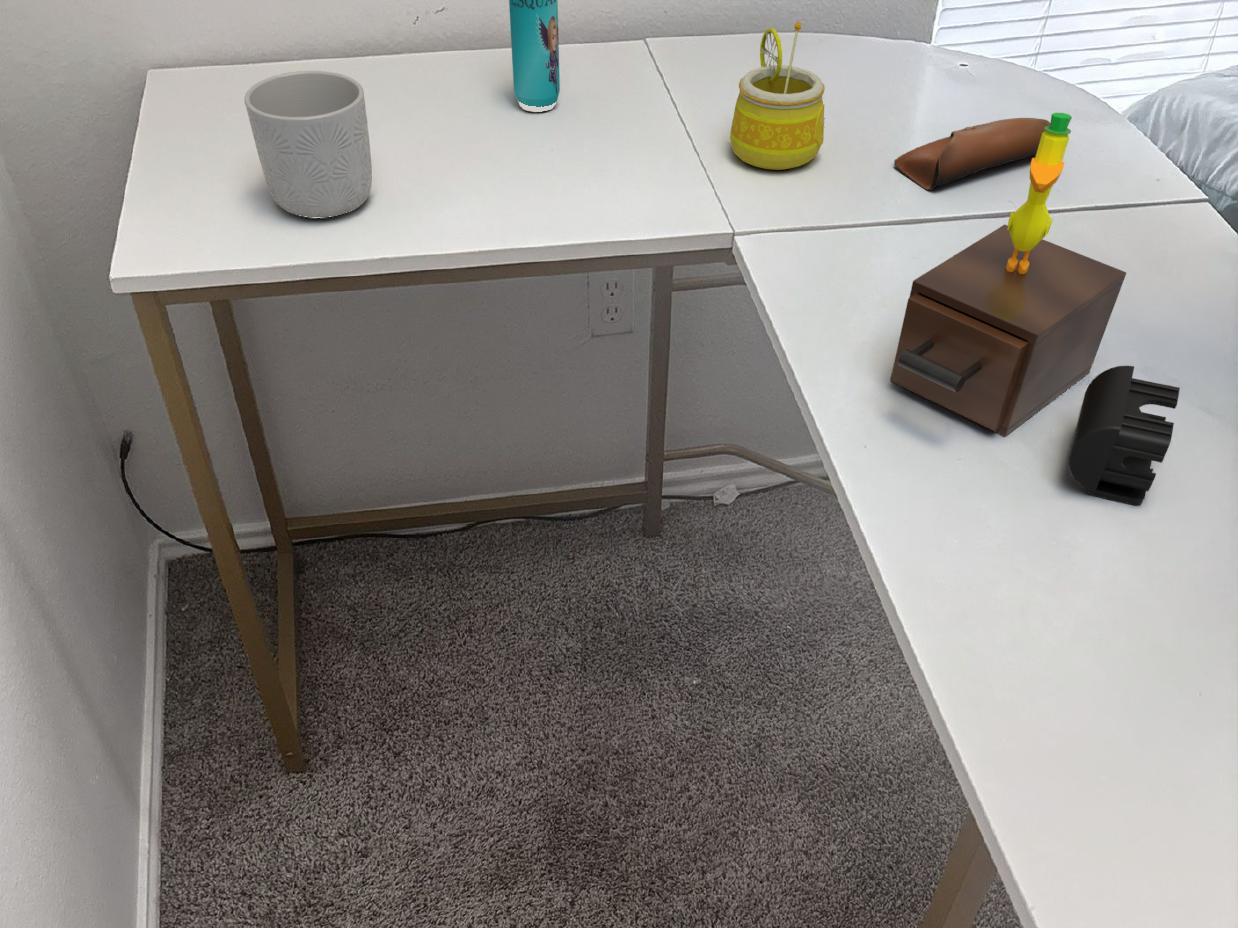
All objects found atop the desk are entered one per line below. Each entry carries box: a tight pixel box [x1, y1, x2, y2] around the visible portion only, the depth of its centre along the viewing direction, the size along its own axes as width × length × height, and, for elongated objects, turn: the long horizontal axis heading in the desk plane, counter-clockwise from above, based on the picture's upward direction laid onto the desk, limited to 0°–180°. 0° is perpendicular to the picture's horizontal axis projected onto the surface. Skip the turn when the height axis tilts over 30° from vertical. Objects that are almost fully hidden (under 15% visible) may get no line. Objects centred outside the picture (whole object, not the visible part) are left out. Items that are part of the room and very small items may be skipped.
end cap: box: [1067, 365, 1181, 506], centre depth 97 cm, size 10×7×7 cm
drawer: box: [889, 294, 1028, 432], centre depth 102 cm, size 18×11×8 cm, turn 135°
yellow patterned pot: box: [729, 21, 826, 171], centre depth 132 cm, size 13×11×12 cm
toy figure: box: [1006, 112, 1073, 274], centre depth 96 cm, size 7×4×12 cm, turn 160°
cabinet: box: [890, 224, 1127, 437], centre depth 104 cm, size 15×13×10 cm
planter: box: [244, 70, 373, 217], centre depth 124 cm, size 12×12×11 cm
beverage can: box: [508, 0, 561, 107], centre depth 138 cm, size 6×6×15 cm
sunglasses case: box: [893, 117, 1051, 191], centre depth 133 cm, size 18×7×7 cm, turn 121°
